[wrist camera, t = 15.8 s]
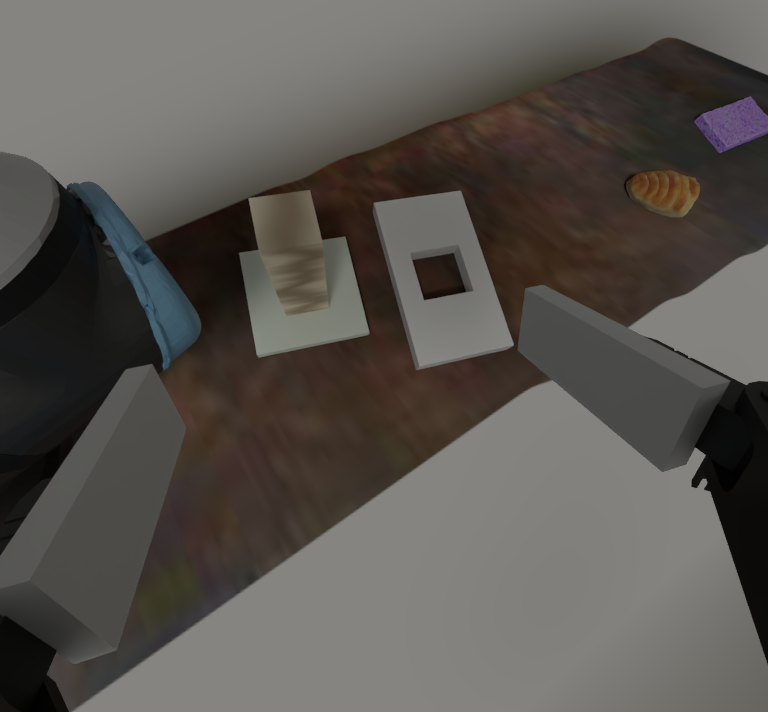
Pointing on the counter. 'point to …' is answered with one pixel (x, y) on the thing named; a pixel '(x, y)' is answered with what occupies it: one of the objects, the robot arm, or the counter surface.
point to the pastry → (664, 192)
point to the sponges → (733, 124)
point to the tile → (311, 327)
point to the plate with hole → (449, 313)
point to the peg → (291, 250)
